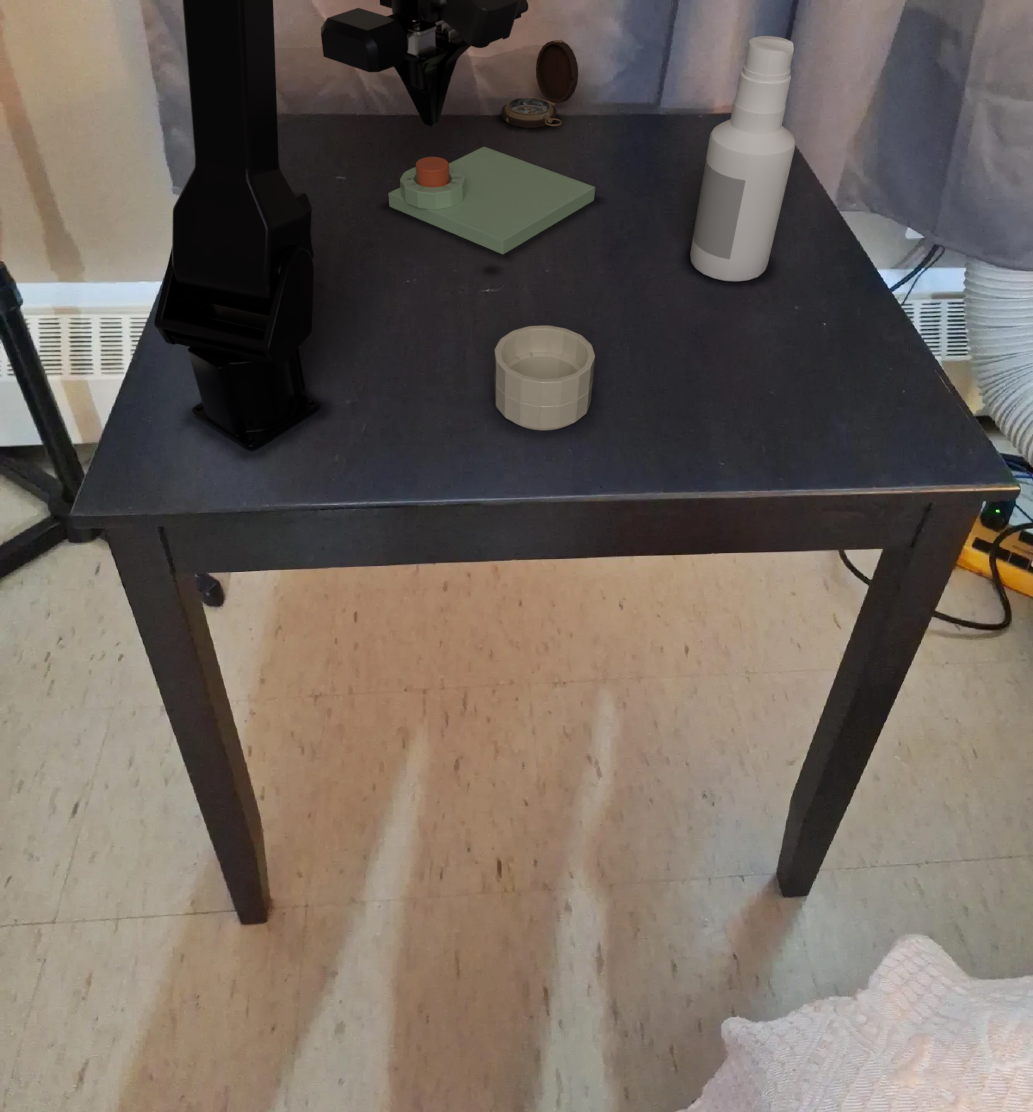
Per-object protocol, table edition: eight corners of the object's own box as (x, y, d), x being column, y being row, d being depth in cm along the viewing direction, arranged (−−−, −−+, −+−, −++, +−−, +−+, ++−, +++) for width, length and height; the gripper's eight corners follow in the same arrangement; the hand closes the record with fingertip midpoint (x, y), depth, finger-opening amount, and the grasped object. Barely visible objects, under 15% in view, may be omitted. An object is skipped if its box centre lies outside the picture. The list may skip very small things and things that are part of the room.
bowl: (551, 447, 65) (554, 394, 62) (475, 408, 68) (474, 355, 65) (607, 401, 69) (613, 349, 66) (533, 366, 72) (536, 314, 69)
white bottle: (707, 237, 87) (745, 22, 74) (777, 257, 84) (830, 39, 71) (676, 269, 83) (711, 47, 70) (750, 291, 80) (800, 65, 67)
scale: (499, 257, 83) (499, 225, 81) (385, 208, 89) (383, 177, 87) (594, 200, 91) (596, 170, 89) (484, 159, 97) (483, 130, 95)
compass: (489, 116, 105) (489, 46, 100) (542, 100, 108) (545, 31, 103) (536, 140, 101) (539, 68, 95) (590, 122, 104) (595, 51, 99)
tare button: (434, 192, 86) (433, 173, 85) (410, 182, 87) (408, 164, 86) (455, 181, 88) (455, 162, 86) (431, 172, 89) (431, 153, 88)
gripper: (415, -37, 64) (426, 186, 75) (577, -87, 74) (565, 117, 86) (303, -67, 69) (330, 147, 80) (470, -110, 79) (472, 86, 90)
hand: (431, 124), depth 84 cm, fingers closed
